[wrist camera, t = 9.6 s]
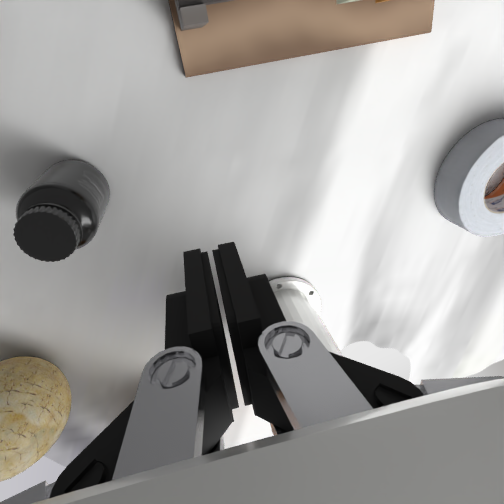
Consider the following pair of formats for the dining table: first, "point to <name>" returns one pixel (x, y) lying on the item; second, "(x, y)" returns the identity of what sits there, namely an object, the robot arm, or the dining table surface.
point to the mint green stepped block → (345, 1)
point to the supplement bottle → (61, 210)
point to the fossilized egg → (30, 411)
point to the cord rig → (286, 28)
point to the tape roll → (473, 181)
